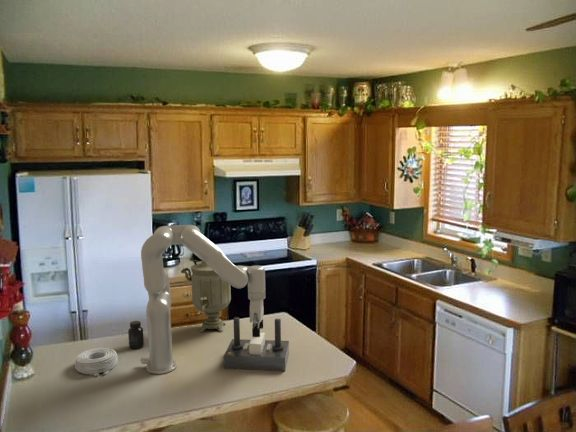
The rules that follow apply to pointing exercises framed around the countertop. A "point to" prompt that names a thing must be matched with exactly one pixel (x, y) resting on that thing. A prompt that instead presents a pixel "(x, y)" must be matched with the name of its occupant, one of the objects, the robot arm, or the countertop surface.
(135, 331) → the supplement bottle
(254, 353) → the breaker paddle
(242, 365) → the gray switch control box
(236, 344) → the dark grey upright post
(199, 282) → the samovar
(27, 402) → the countertop surface
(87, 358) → the cable
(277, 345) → the black toggle lever
